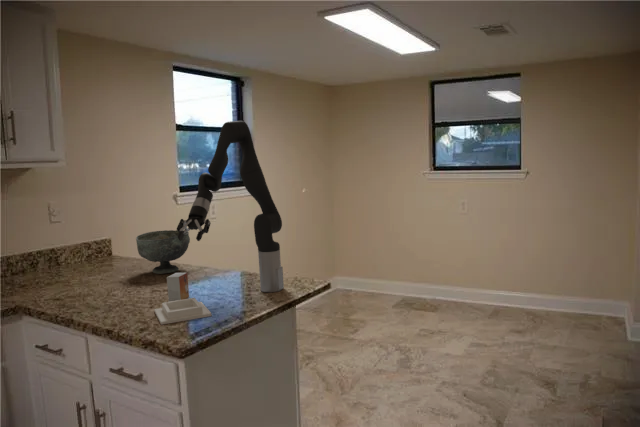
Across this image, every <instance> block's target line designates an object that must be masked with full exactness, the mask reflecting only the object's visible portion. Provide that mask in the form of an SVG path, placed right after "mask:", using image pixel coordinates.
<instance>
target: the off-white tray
mask: <svg viewBox="0 0 640 427" xmlns="http://www.w3.org/2000/svg"><path fill="white" fill-rule="evenodd" d="M153 311H154V313H155V315H156V316H155V317H157V320H158V322H159V323H160V325H161V326H162V325H166V324H167V325H168V324H173V323H178V322H184V321H191V320H196V319H201V318H207V317H212V312H211V311H210V310H209V308H208V307H207V306H205V304H204V303H203V302H202V301H198V300H197V299H196V298H195V297H191V298H190V297H188V298H186V299H183V300H176V301H170V302H169V301H164V302H161V307H160V308H154V310H153Z"/></svg>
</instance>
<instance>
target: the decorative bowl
mask: <svg viewBox="0 0 640 427" xmlns="http://www.w3.org/2000/svg"><path fill="white" fill-rule="evenodd" d="M189 232H190V231H187V232H185V233H184V236H183V239H182V241H180V240H179V239H178V235H179V232H178V231H177V229H176V230H172V229H171V230H156V231H148V232H145V233H141V234H139V235H137V236H136V237H135V240H136V247H137V253H138V255H139V256H140V257H141V258H143V259H145V260H147V261H149V262H153V263H157V262H159V265H158V266H155V267H154V268H153V269H152V273H153V274H157V275H159V274H160V275H163V274H169V273H177V272H179V270H180V269H179V267H178V266H177V265H175V264H172V263H170V262H171V261H176V260H178V259H180V258H181V257H183V256H184V254H186V252H187V251H188V248H189V244H190V243H191V238H190V235H189Z"/></svg>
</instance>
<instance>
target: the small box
mask: <svg viewBox="0 0 640 427" xmlns="http://www.w3.org/2000/svg"><path fill="white" fill-rule="evenodd" d="M188 279H189V278H188V272H173V274H171V275H169V276H167V277H166V286H167V288H166V289H167V298H168V302H170V301H176V300H183V299H189V298H190V294H189V292H190V291H189V280H188Z"/></svg>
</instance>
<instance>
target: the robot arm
mask: <svg viewBox="0 0 640 427" xmlns="http://www.w3.org/2000/svg"><path fill="white" fill-rule="evenodd" d="M216 143H217V144H216V148H215V151H214V155H213V157H212V160H211V161H210V163H209V166H208V169H207V172H202V173H201V174H200V175H199V177H198V181H197V182H198V190H197V194H196V197H195V199H194V201H193V203H192V205H191V208H190V211H189V213H188V217H187V219H186V220H185V219H184V218H181V219H180V220H179V223H178V224H177V226H176V230H177V231H178V232H179V235H178V239H179V240H180V241H182V239H183V236H184V233H185V232H187V231H188V232H190V230H191V231H192V230H196V231H198V232H197V235H196V237H195V239H196V240H197V242H200V241H201V240H202V237H203V235H204V234H208V233H209V230H210V227H211V221H210V220H209V218H207V217H208V214H209V211H210V208H211V203H212V201H213V196H214V193H217V192H218V191H219V190H220V189H221V187H222V180H223V175H224V172H225V171H226V168H227V166H228V165H229V164H228V163H229V155H228V149H229V147H230V145H231V144H236V143H239V146H240V148H241V152H242V159H241V164H240V170H239V172H240V177H241V179H242V183H243V186H244V188H245V189H246V190H247V193H249V194H250V196H251V197H252V198H253V199H254V200H255V201H256V203H257V204H258V206H259V208H260V210H261V212H262V213H259V214H257V215H256V216H255V217H254V221H253V230H254V231H253V232H254V239H255V245H256V247H257V252H258V255H257V256H258V271H259V284H260V291H261V292H263V293H277V292H280V291H282V290H283V289H285V288H284V287H285V286H284V269H283V266H282V264H281V247H280V246H281V245H280V243H279V242H277V241H274V238H273V237H274V236H273V234H276V233H279V232H280V231H281V229H282V227H283V221H282V217H281V215H280V212H279V210H278V209H277V206H276V204H275V201H274V200H273V198H272V195H271V192H270V190H269V189H270V188H268V184H267V182H266V179H265V175H264V172H263V169H262V167H261V164H260V162H259V159H258V156H257V153H256V150H255V147H254V146H255V145H254V142H253V138H252V133H251V130H250V127H249V126H248V123H247V122H245V120H233V121H227V122H225V123H224V124H222V127H221V128H220V133H219V136H218V141H217V142H216ZM203 226H204V227H203ZM202 227H203V228H202Z"/></svg>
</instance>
